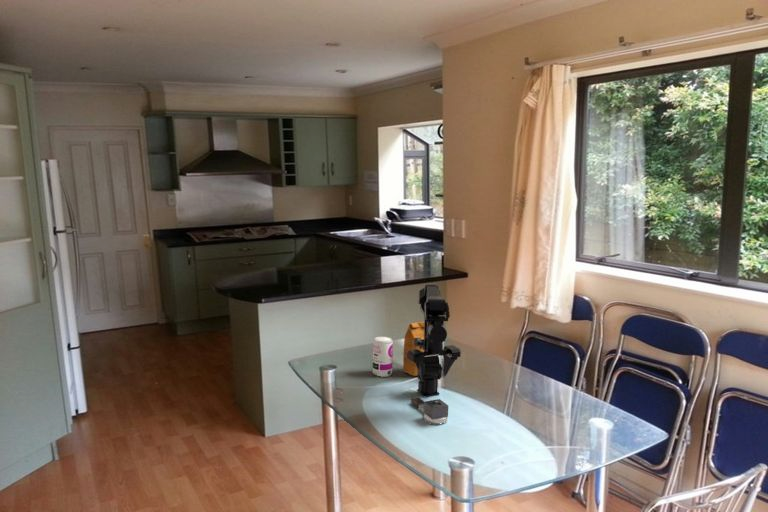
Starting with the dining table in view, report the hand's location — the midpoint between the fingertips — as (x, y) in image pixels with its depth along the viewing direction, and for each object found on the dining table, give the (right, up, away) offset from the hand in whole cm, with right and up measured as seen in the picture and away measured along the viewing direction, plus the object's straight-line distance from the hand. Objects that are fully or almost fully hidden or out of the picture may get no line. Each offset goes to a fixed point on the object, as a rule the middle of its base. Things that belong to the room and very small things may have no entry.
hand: (433, 377), depth 208 cm
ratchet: (-2, -12, -1) cm, 13 cm away
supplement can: (-18, -6, +36) cm, 41 cm away
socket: (0, -11, -7) cm, 13 cm away
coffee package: (-3, -6, +39) cm, 39 cm away
